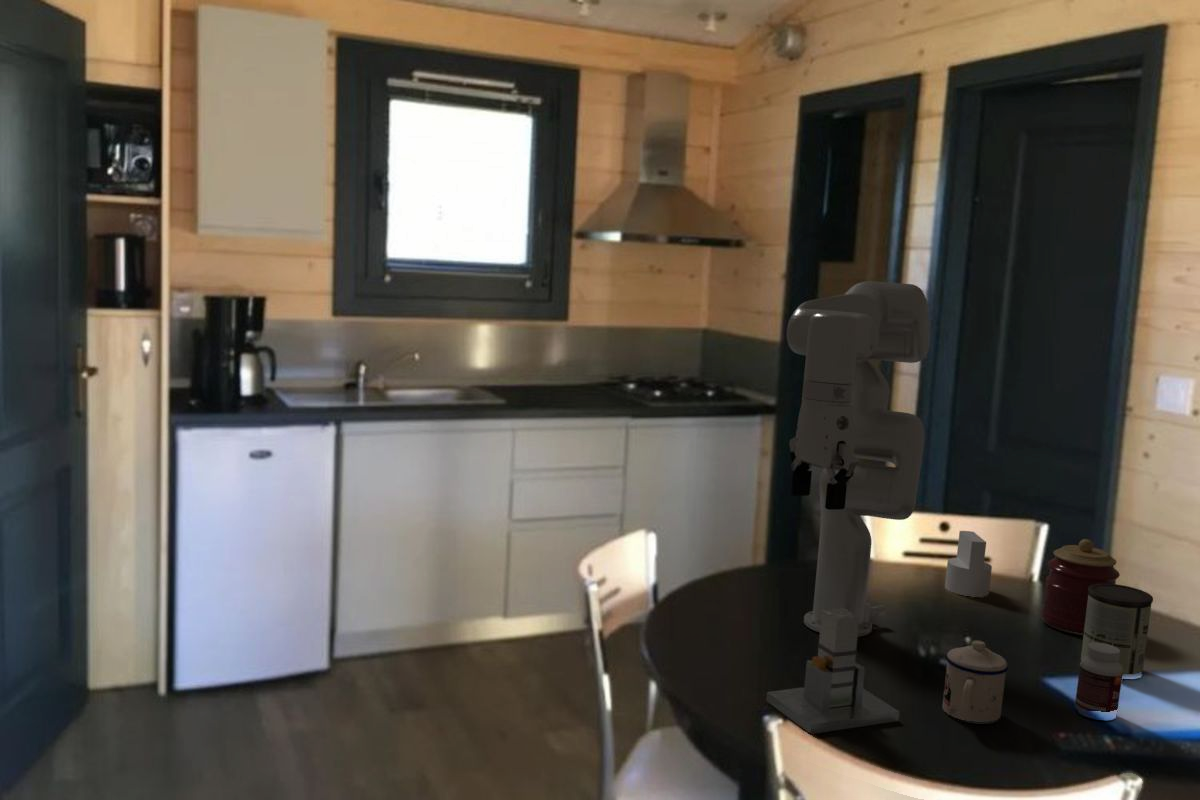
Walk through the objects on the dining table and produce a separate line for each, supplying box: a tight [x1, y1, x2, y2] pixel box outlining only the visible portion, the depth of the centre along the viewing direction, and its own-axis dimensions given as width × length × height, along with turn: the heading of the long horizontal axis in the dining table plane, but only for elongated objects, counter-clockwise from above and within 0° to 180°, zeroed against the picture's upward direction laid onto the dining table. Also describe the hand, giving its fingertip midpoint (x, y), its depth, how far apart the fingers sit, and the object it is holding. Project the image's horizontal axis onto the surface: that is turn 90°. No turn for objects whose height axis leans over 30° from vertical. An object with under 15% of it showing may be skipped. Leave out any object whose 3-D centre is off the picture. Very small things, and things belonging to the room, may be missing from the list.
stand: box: [765, 655, 900, 735], centre depth 169 cm, size 16×12×9 cm
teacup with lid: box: [942, 640, 1009, 722], centre depth 169 cm, size 12×9×12 cm
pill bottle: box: [1074, 643, 1123, 712], centre depth 173 cm, size 6×6×11 cm
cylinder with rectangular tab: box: [944, 530, 993, 598], centre depth 235 cm, size 9×9×12 cm
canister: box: [1041, 538, 1121, 633], centre depth 215 cm, size 13×13×18 cm
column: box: [817, 608, 859, 708], centre depth 168 cm, size 4×4×14 cm
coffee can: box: [1080, 583, 1154, 674], centre depth 193 cm, size 10×10×14 cm
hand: (817, 502), depth 172 cm, fingers open, 9 cm apart
